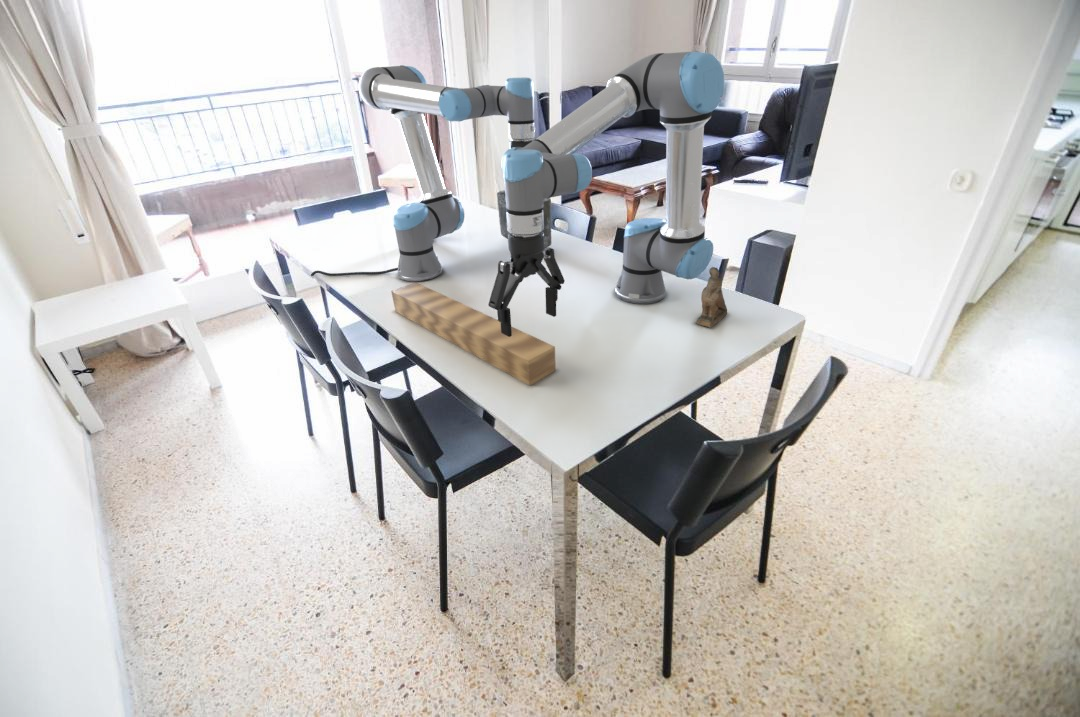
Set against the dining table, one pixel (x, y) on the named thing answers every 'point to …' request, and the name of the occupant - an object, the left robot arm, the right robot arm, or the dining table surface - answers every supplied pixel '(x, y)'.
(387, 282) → the dining table surface
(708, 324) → the brown carved statuette
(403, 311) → the brown striped wooden beam
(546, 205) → the concrete block
